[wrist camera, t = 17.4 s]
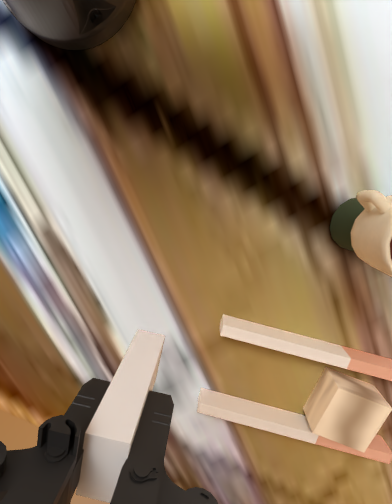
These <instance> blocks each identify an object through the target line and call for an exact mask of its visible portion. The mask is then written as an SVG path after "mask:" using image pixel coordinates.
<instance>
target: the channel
mask: <svg viewBox="0 0 392 504" xmlns="http://www.w3.org/2000/svg"><path fill="white" fill-rule="evenodd" d="M220 335H221V336H224V337H228V338H232V339H236V340H239V341H243V342H247V343H251V344H254V345H258V346H262V347H266V348H269V349H273V350H277V351H281V352H284V353H288V354H292V355H296V356H300V357H303V358H307V359H311V360H315V361H318V362H322V363H326V364H330V365H333V366H337V367H341V368H345V369H348V370H352V371H356V372H360V373H363V374H367V375H371V376H375V377H378V378H382V379H386V380H390V381H392V359H390V358H386V357H382V356H378V355H375V354H371V353H367V352H363V351H360V350H356V349H352V348H348V347H345V346H341V345H337V344H333V343H329V342H326V341H322V340H318V339H314V338H311V337H307V336H303V335H299V334H296V333H292V332H288V331H284V330H281V329H277V328H273V327H269V326H265V325H262V324H258V323H254V322H250V321H247V320H243V319H239V318H235V317H232V316H228V315H224V314H223V316H222V319H221V322H220ZM197 412H198V413H202V414H206V415H209V416H213V417H217V418H220V419H224V420H228V421H232V422H235V423H239V424H243V425H246V426H250V427H254V428H258V429H261V430H265V431H269V432H272V433H276V434H280V435H284V436H287V437H291V438H295V439H298V440H302V441H306V442H310V443H313V444H317V445H321V446H324V447H328V448H332V449H336V450H339V451H343V452H347V453H350V454H354V455H358V456H361V457H365V458H369V459H373V460H376V461H380V462H384V463H387V464H390V462H391V460H392V451H391V450H390V448H389V447H388V445H387V444H386V442H385V441H384V439H383V438H382V436H380V435H375V437H374V438H373V440H372V441H371V443H370V444H369V446H368V447H367V449H366V451H365V452H361V451H358V450H356V449H353V448H351V447H348V446H345V445H343V444H340V443H337V442H335V441H332V440H330V439H327V438H324V437H322V436H319V435H317V434H314V433H312V430H311V428H310V425H309V423H308V420H307V417H306V416H305V415H301V414H298V413H294V412H290V411H287V410H283V409H279V408H275V407H272V406H268V405H264V404H260V403H257V402H253V401H249V400H246V399H242V398H238V397H234V396H231V395H227V394H223V393H219V392H216V391H212V390H208V389H205V388H201V389H200V393H199V396H198V407H197Z"/></svg>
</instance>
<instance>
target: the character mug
mask: <svg viewBox="0 0 392 504" xmlns="http://www.w3.org/2000/svg"><path fill="white" fill-rule="evenodd" d="M330 231H331V236H332V239H333V240H334V241H335V242H336V243H337V244H338V245H339V246H340V247H342V248H345V249H348V250H350V251H354V252H355V253H356V255H357V257H359V258H360V259H361V260H363V261H364V262H365V263H367V264H368V265H370V266H371V267H373V268H375V269H377V270H379V271H381V272H383V273H385V274H387V275H389V276H391V277H392V195H391V196H387V197H385V196H384V195H383V194H382V193H380V192H378V191H375V190H363V191H360V192H358V193H357V196H356V198H353V199H350V200H348V201H346V202H345V203H343V204H342V205H340V206H339V208H338V209H337V210H336V212H335V213H334V214H333V216H332V220H331V224H330Z"/></svg>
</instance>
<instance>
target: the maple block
mask: <svg viewBox="0 0 392 504" xmlns="http://www.w3.org/2000/svg"><path fill="white" fill-rule="evenodd" d="M303 410H304V412H305V415H306V417H307V420H308V423H309V425H310V428H311V430H312V433H314V434H317V435H319V436H322V437H324V438H327V439H330V440H332V441H335V442H337V443H340V444H343V445H345V446H348V447H351V448H353V449H356V450H358V451H361V452H365V451H366V449H367V447H368V446H369V444H370V443H371V441H372V440H373V438H374V437H375V435H376V434H377V432H378V431H379V429H380V427H381V426H382V424H383V423H384V421H385V420H386V418H387V417H388V415H389V414H390V412H391V410H392V408H391V406H390V405H389V404H388V403H387V401H386V400H385V399H384V398H383V396H382V395H381V394H380V392H379V391H378V390H377V389H376V387H375V386H374V385H372V384H369V383H367V382H364V381H361V380H359V379H356V378H354V377H351V376H349V375H346V374H343V373H341V372H338V371H336V370H333V369H330V368H328V367H325V369H324V371H323V372H322V374H321V376H320V378H319V380H318V381H317V383H316V385H315V387H314V389H313V390H312V392H311V394H310V396H309V398H308V399H307V401H306V403H305V405H304V407H303Z"/></svg>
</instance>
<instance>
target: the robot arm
mask: <svg viewBox="0 0 392 504" xmlns="http://www.w3.org/2000/svg"><path fill="white" fill-rule="evenodd" d="M135 1H136V0H3V2H4V4H5V5H6V7H7V8H8V9H9V11H10V12H11V13H12V14H13V15H14V17H15V18H16V19H17V20H18V21H19V22H20V23H21V24H22V25H23V26H25V27H26V28H27V29H28V30H29V31H31V32H32V33H33V34H34V35H35V36H37V37H38V38H39V39H41V40H42V41H44V42H46V43H48V44H50V45H52V46H55V47H58V48H61V49H66V50H83V49H88V48H92V47H95V46H97V45H100V44H101V43H103V42H105V41H107V40H108V39H109V38H111V37H112V36H113V35H114V34H115V33H116V32H117V31H118V30H119V29H120V28H121V27H122V26H123V24H124V23H125V22H126V20H127V18H128V17H129V15H130V13H131V11H132V9H133V7H134V4H135ZM164 339H165V335H160V334H156V333H152V332H148V331H143V330H139V329H138V330H137V332H136V334H135V336H134V338H133V340H132V342H131V344H130V346H129V348H128V350H127V352H126V354H125V356H124V358H123V360H122V362H121V364H120V366H119V367H118V369H117V371H116V373H115V375H114V377H113V379H112V381H111V382H108V381H104V380H100V379H96V378H92V379H91V380H90V381H88V382H87V383H85V384H84V385H83V386H82V388H81V390H80V391H79V393H78V394H77V396H76V397H75V399H74V401H73V402H72V404H71V405H70V407H69V408H68V410H67V412H66V413H65V415H60V416H56V417H52V418H50V419H48V420H46V421H45V422H44V423H43V424H42V425H41V426H40V427H39V430H38V441H37V446H35V447H33V448H29V449H22V450H10V451H7V450H6V446H5V445H4V444H3V443H2V442H1V441H0V504H70V502H71V498H72V496H73V494H74V491H75V489H76V487H77V490H76V495H80V496H84V497H88V498H92V499H96V500H100V501H105V502H108V503H110V504H218V503H217V500H216V499H215V498H214V496H213V495H212V494H211V493H210V492H208V491H207V490H205V489H203V488H198V487H194V488H190V489H188V490H187V491H185V490H183V489H182V488H180V487H179V486H177V485H176V484H174V483H173V482H172V481H171V480H170V478H169V477H168V476H167V474H166V471H165V468H164V456H165V450H166V445H167V440H168V434H169V429H170V424H171V418H172V413H173V407H174V404H173V401H172V398H171V395H166V394H162V393H158V392H154V391H152V390H153V386H154V383H155V380H156V376H157V371H158V366H159V362H160V357H161V353H162V348H163V343H164Z"/></svg>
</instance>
